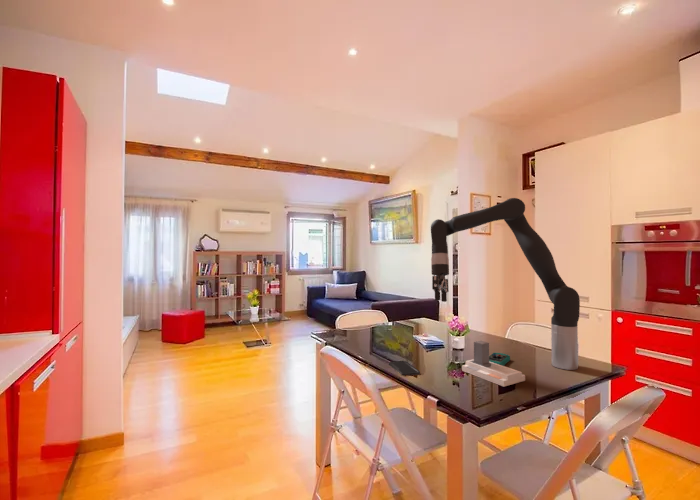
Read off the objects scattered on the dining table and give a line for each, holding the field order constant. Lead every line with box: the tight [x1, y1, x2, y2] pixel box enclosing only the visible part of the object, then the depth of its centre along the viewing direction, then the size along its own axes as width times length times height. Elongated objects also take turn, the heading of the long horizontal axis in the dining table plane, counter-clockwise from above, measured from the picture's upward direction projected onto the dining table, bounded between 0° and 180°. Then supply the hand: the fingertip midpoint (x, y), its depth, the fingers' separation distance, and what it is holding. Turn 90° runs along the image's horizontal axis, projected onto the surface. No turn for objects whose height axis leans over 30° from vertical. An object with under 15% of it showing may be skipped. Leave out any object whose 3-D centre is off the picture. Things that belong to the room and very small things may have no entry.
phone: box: [388, 360, 421, 377], centre depth 138 cm, size 8×1×15 cm
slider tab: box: [473, 340, 491, 367], centre depth 135 cm, size 5×5×9 cm
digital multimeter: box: [489, 352, 511, 366], centre depth 146 cm, size 7×15×3 cm, turn 141°
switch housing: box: [461, 358, 526, 387], centre depth 131 cm, size 12×19×4 cm, turn 29°
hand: (440, 301), depth 149 cm, fingers open, 8 cm apart
